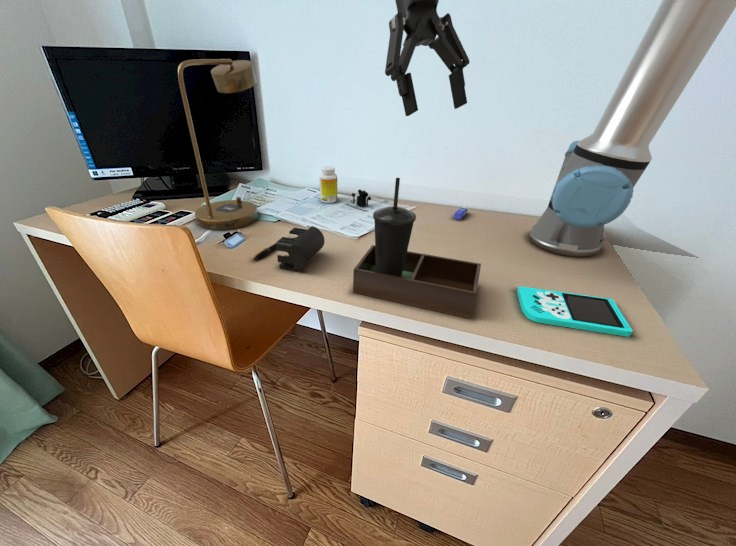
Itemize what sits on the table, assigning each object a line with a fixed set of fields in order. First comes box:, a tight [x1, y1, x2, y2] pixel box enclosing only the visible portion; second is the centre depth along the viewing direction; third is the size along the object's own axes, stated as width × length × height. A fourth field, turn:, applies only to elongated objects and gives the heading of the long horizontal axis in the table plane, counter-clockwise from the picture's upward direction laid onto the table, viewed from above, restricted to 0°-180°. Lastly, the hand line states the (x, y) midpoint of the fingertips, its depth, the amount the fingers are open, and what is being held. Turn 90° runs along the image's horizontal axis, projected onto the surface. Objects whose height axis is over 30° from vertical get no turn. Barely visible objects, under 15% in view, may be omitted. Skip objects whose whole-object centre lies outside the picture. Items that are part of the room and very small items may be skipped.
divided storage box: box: [352, 244, 482, 319], centre depth 66 cm, size 11×22×5 cm, turn 67°
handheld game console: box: [516, 285, 633, 338], centre depth 61 cm, size 10×16×1 cm, turn 73°
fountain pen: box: [252, 236, 292, 261], centre depth 83 cm, size 14×1×2 cm, turn 150°
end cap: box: [276, 225, 325, 272], centre depth 76 cm, size 10×7×7 cm
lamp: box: [177, 58, 258, 231], centre depth 93 cm, size 17×27×38 cm, turn 157°
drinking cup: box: [372, 177, 417, 277], centre depth 63 cm, size 8×8×20 cm
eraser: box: [453, 206, 469, 221], centre depth 99 cm, size 2×6×2 cm, turn 145°
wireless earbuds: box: [351, 189, 372, 208], centre depth 106 cm, size 7×2×5 cm, turn 54°
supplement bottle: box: [319, 166, 338, 204], centre depth 109 cm, size 6×6×10 cm
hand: (437, 109), depth 68 cm, fingers open, 13 cm apart
